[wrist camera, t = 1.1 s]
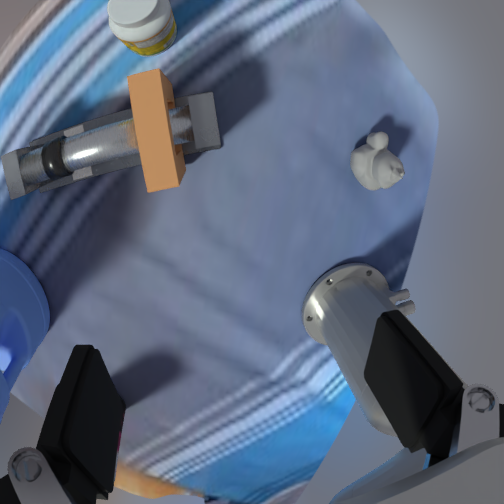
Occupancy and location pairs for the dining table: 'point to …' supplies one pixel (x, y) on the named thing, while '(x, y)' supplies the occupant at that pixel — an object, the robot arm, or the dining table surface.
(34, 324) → the water jug
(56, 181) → the pipe rig
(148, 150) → the collar
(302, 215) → the dining table surface
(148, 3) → the supplement bottle
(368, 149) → the grey figurine
